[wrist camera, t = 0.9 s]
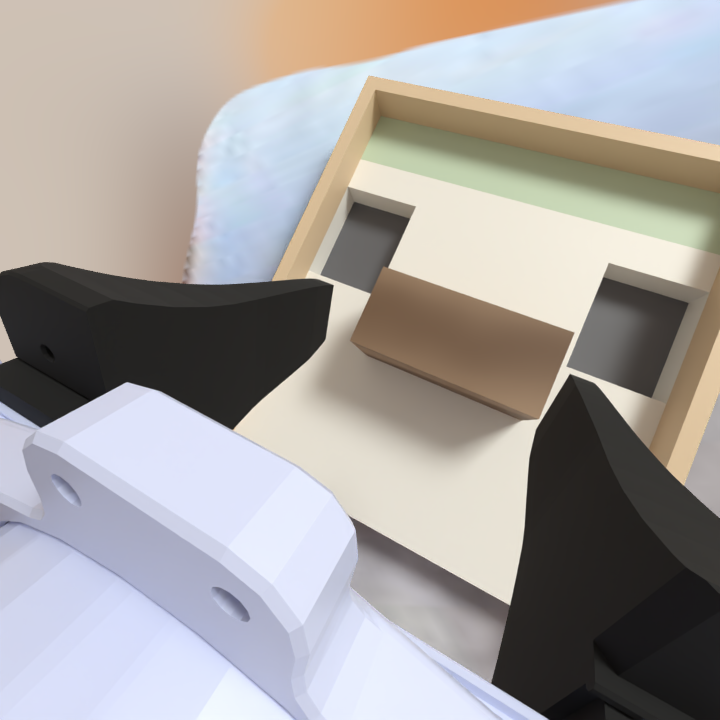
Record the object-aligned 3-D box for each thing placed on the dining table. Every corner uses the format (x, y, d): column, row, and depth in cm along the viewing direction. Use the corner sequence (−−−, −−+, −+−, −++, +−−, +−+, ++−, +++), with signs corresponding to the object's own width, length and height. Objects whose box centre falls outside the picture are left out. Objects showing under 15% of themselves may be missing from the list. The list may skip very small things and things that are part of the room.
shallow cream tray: (577, 628, 19) (609, 679, 16) (233, 440, 25) (195, 442, 21) (740, 211, 21) (806, 162, 17) (380, 125, 27) (368, 75, 23)
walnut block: (521, 420, 20) (538, 419, 16) (366, 355, 22) (349, 340, 18) (550, 350, 20) (574, 332, 16) (394, 293, 22) (383, 266, 19)
